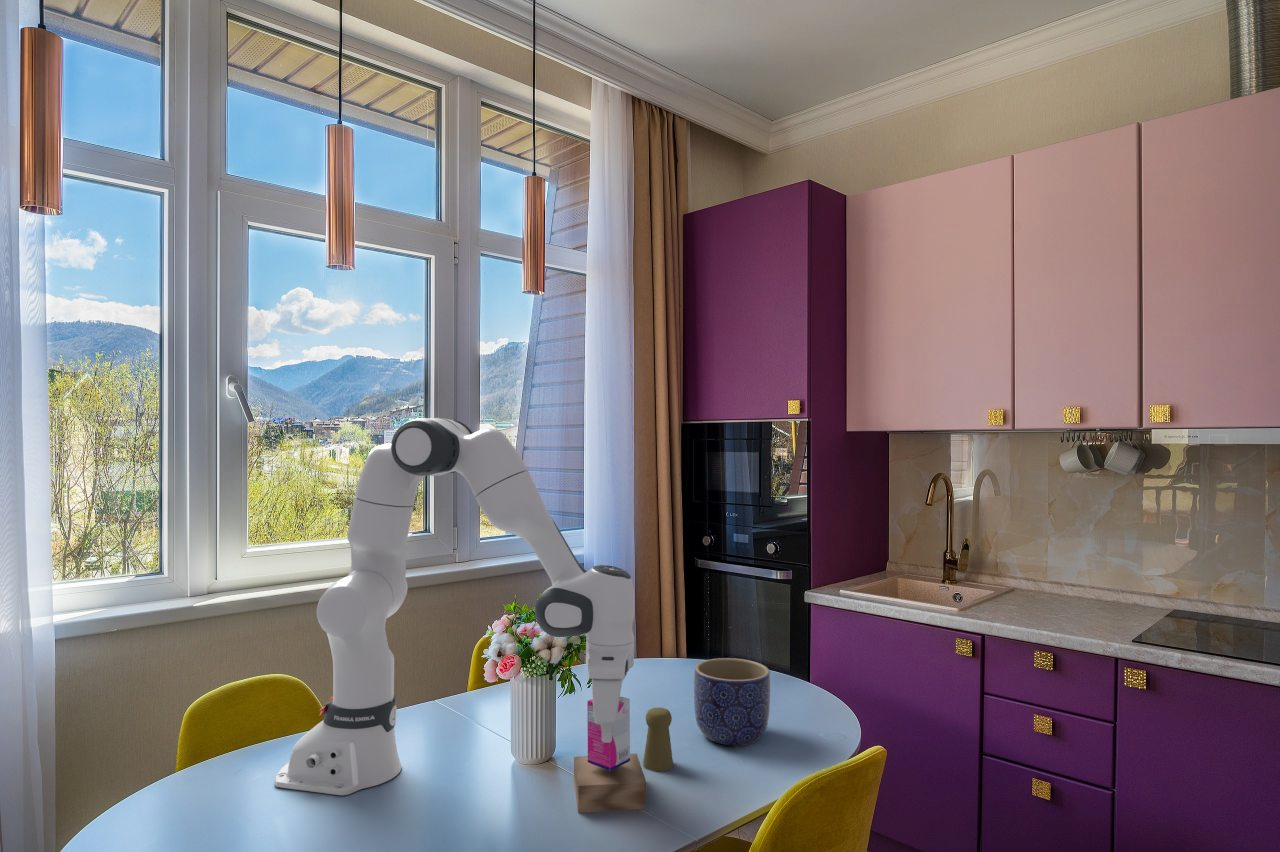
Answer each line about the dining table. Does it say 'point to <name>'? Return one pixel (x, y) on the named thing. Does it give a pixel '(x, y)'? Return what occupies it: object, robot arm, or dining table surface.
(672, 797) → the dining table surface
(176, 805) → the dining table surface
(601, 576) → the robot arm
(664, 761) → the olive pawn
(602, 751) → the supplement box
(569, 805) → the dining table surface
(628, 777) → the walnut block
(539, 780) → the dining table surface
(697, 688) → the planter
